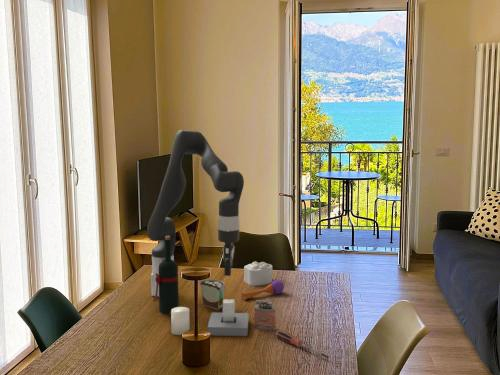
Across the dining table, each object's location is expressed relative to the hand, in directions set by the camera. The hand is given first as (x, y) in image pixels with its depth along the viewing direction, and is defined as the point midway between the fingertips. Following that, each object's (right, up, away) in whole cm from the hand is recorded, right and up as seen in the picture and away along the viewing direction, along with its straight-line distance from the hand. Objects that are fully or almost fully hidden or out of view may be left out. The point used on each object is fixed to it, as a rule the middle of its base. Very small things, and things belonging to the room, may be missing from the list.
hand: (228, 271), depth 192 cm
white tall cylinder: (0, -21, +3) cm, 21 cm away
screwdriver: (+25, -24, -14) cm, 37 cm away
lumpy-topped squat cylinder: (+12, -14, +58) cm, 61 cm away
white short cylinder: (-17, -21, -1) cm, 27 cm away
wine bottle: (-25, -19, +20) cm, 37 cm away
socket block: (0, -21, +3) cm, 21 cm away
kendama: (+13, -17, +38) cm, 43 cm away
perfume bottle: (+13, -21, +3) cm, 25 cm away
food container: (-6, -18, +26) cm, 32 cm away
